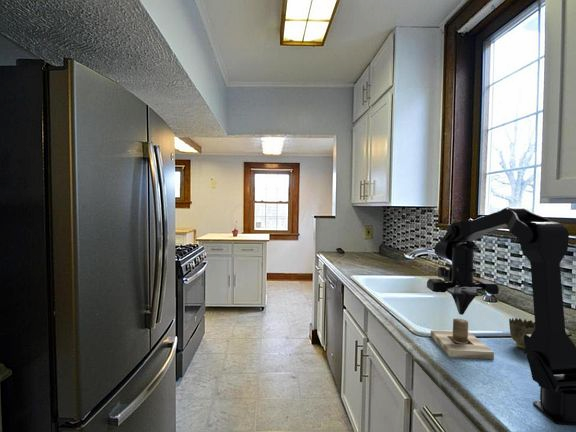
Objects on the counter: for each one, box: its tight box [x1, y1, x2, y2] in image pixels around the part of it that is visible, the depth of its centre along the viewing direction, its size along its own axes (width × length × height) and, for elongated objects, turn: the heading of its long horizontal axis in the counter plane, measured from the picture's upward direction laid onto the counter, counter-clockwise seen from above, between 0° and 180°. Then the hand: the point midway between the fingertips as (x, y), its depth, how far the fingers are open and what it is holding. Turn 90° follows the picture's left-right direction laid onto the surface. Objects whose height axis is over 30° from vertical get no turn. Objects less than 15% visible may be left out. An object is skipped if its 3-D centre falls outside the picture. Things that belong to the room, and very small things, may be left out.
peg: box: [452, 318, 469, 344], centre depth 94 cm, size 4×4×8 cm
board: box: [430, 329, 495, 360], centre depth 94 cm, size 14×12×2 cm
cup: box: [508, 317, 535, 351], centre depth 94 cm, size 8×7×8 cm
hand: (460, 314), depth 94 cm, fingers closed
